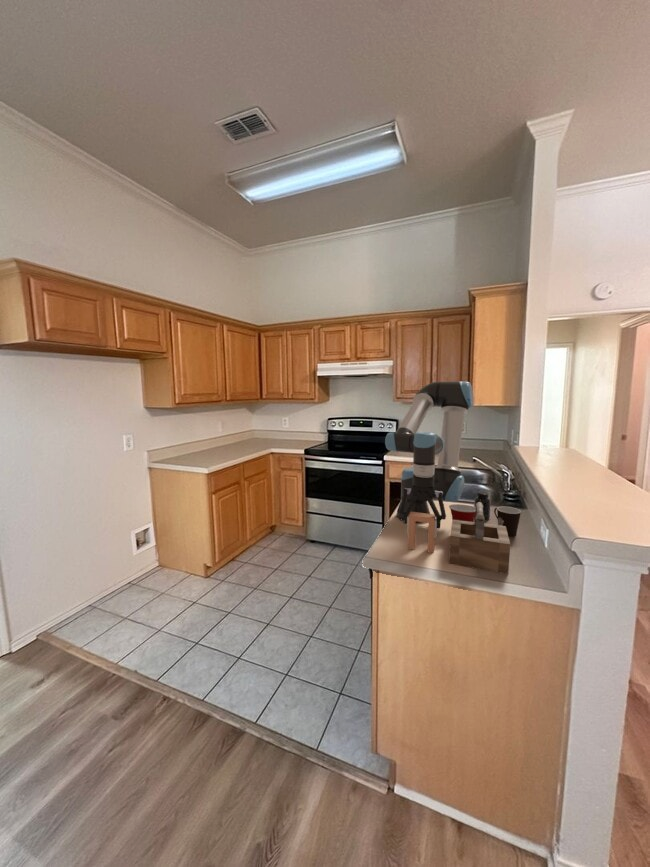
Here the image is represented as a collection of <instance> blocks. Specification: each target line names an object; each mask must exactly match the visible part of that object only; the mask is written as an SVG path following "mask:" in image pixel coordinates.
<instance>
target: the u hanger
mask: <svg viewBox="0 0 650 867" xmlns="http://www.w3.org/2000/svg"><path fill="white" fill-rule="evenodd" d="M435 518H436V517H435V515H434V513H430V514H426V513H418V512H410V514H409V534H408V539H407V540H408V542H407V545H408V547H407V549H408V550H413V549H414V550H415V547H416V535H417V534H416V531H417V530H416V529H417V523H416V521H418V522H423V523H427V524H428V525H427V526H428V528H427V529H428V533H427V553H431V552H432V553H431V554H434V551H435V540H436V538H434V525H435Z"/></svg>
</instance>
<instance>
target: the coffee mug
mask: <svg viewBox="0 0 650 867" xmlns="http://www.w3.org/2000/svg"><path fill="white" fill-rule="evenodd" d="M493 513H494V515H495V518H496V519H497V525H500V526H506V529H507V533H508V537H509V538H510V537H516V536H517V532H518V527H519V524H520V519H521V514H522V512H521V509H518V508H515V507H512V506H498V507H495V508H494V510H493Z"/></svg>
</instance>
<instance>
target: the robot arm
mask: <svg viewBox="0 0 650 867" xmlns="http://www.w3.org/2000/svg"><path fill="white" fill-rule="evenodd" d="M473 406H474V392H473V386H472V384H471V383H470V382H469V381H460V380H458V381H434V382H433V381H432V382H430V383H429V384H426V385H425V386H423V387H422V388H420V389H419V390H418V391H417V392H416V393H415V395H414V397H413V399H412V404H411V406H410V408H409V409H408V411H407V413H406V415H405V416H404V418H403V419H402V421H401V423H400V425H399V426H398V428H397V429H396V431H395V432H394V431H393V432H388V433H387V434H386V436H385V439H384V445H385V448H386V449H387V451H391V452H392V451H393V452H397V453H399V452H400V453H410V454H413V457H412V458H413V459H412V460H413V461H412V464H413V465H412V467H406V468H404V469H403V470H402V472H401V479H400V480H401V482H400V485H401V486H400V502H399V504H398V507H397V510H396V518H397V519H399V520H401V521H404V522H403V523H404V525H406V534H407V535H409V514H410V512H418V513H426V514H431V511H432V512H433V514H434V515H435V525H434V538H435V539H437V536H438V530H440V528H441V521H442V520H446V518H447V514H446V510H445V504H444V501H445V502H452V503H454V502H455V503H456V502H458V501H459V500H460V498H461V496H462V494H463V491H464V486H465V477H464V475H462V471H461V470H460V468H459V462H460V451H461V445H462V444H461V443H462V435H463V427H464V418H465V415H467V413H468V412H469V409H470V408H473ZM437 407H440V410H441V412H442V413H443V419H442V428H441V433H440V434H441V435H440V434H438V433H434V432H429V431H420V432H418V431H419V429H420V428H421V425H422V423H423V422H424V420H425V417H426V415H427V414H428V412H429V411H431V410H432V408H437ZM436 455H438V458H437V459H438V460H437V465H436V462H435V460H436ZM434 500H438V505H439V510H438V508H437V506H436V504H435V502H434ZM429 506H430V508H431V511H430V508H429ZM439 511H440V512H439ZM421 523H424V522H418V521H416V524H421Z"/></svg>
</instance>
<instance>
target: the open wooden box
mask: <svg viewBox="0 0 650 867" xmlns="http://www.w3.org/2000/svg"><path fill="white" fill-rule="evenodd" d="M450 528H451V529H450V534H449V537H450V538H449V556H448V559H449V560H448V564H449V565H454V566H461V567H466V568H472V569H476V568H477V569H478V570H484V571H489V572H493V573H494V572H495V573H500V572H502V573H501V574H506V573H508V574H509V571H510V570H509V569H510V554H511V553H510V552H511V541H510V537H508V533H507V529H506V526H500V525H498V524H491V523H485V520H484V516H483V505H482V503H481V502H478V503H477V504H476V511H475V517H474V522H468V521H460V520H452V522H451V527H450ZM477 569H476V570H477Z"/></svg>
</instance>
